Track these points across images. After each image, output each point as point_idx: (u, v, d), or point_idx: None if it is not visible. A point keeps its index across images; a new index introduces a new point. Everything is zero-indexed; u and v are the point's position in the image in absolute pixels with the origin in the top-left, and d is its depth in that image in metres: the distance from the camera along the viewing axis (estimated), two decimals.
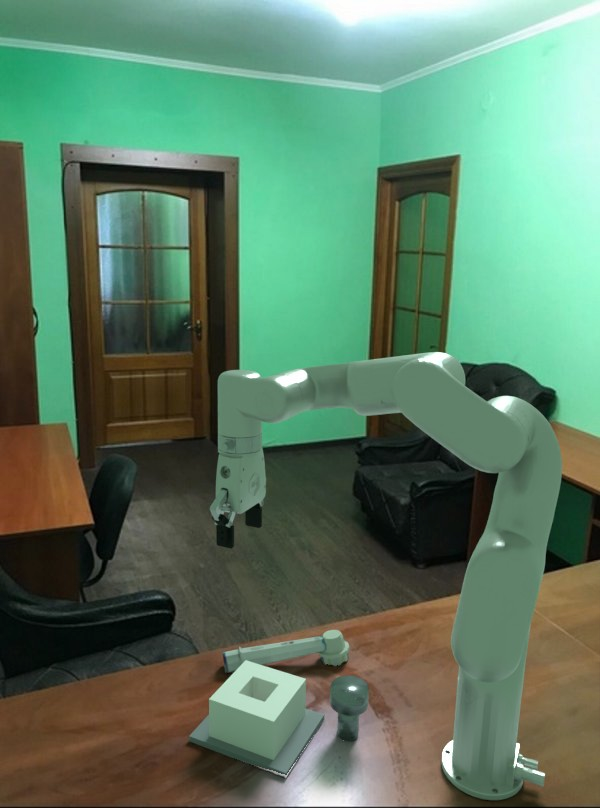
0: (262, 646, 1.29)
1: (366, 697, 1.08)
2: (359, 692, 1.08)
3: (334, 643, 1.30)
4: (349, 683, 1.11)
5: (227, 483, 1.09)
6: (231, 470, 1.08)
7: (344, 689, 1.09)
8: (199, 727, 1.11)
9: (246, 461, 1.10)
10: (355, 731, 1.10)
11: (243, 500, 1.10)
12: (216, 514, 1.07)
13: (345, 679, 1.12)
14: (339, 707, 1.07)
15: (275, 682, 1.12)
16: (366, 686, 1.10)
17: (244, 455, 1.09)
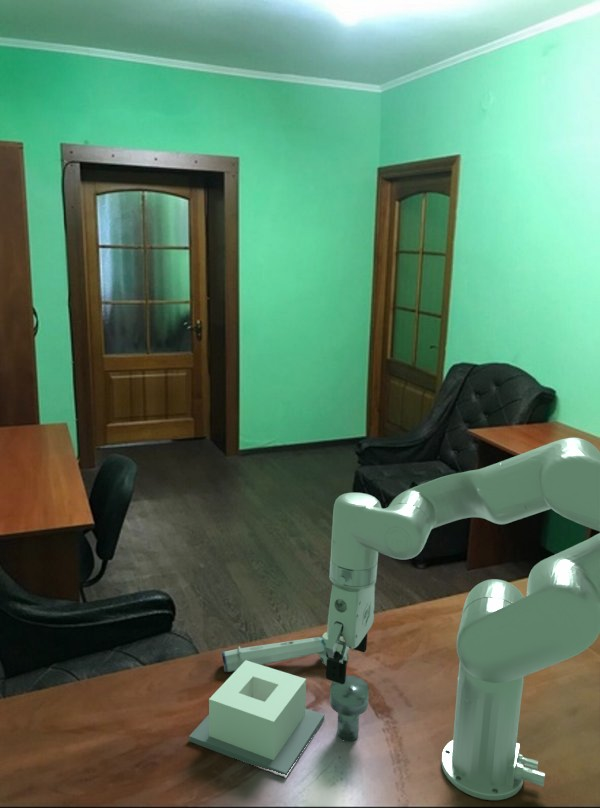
0: (261, 646, 1.29)
1: (366, 697, 1.08)
2: (359, 692, 1.08)
3: None
4: (349, 683, 1.11)
5: (342, 617, 1.02)
6: (347, 604, 1.01)
7: (344, 689, 1.09)
8: (199, 727, 1.11)
9: (362, 593, 1.02)
10: (355, 731, 1.10)
11: (357, 634, 1.03)
12: (332, 653, 1.00)
13: None
14: (339, 707, 1.07)
15: (275, 682, 1.12)
16: (366, 686, 1.10)
17: (361, 588, 1.02)
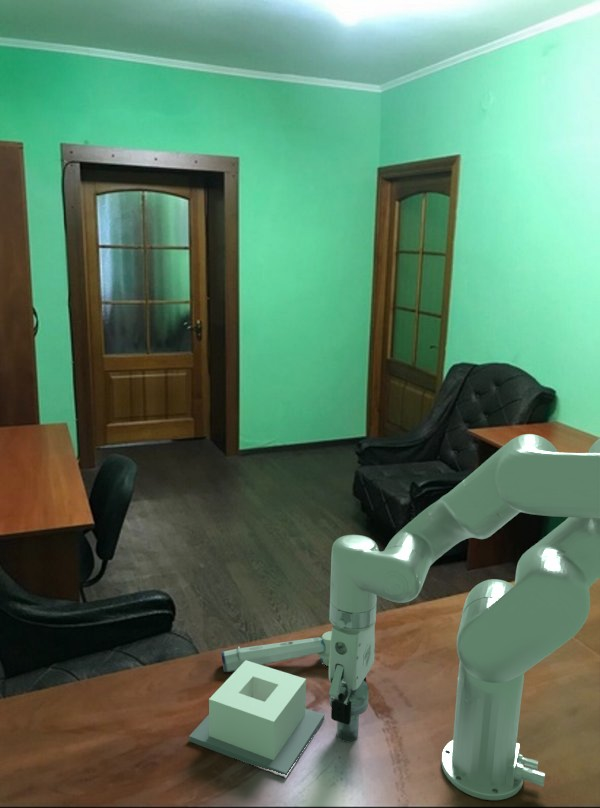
0: (261, 646, 1.29)
1: (366, 697, 1.08)
2: (359, 692, 1.08)
3: None
4: None
5: (343, 659, 1.03)
6: (348, 647, 1.03)
7: (344, 688, 1.09)
8: (199, 727, 1.11)
9: (362, 635, 1.04)
10: (355, 731, 1.10)
11: (358, 676, 1.04)
12: (336, 698, 1.03)
13: None
14: None
15: (275, 682, 1.12)
16: (366, 686, 1.10)
17: (360, 630, 1.03)
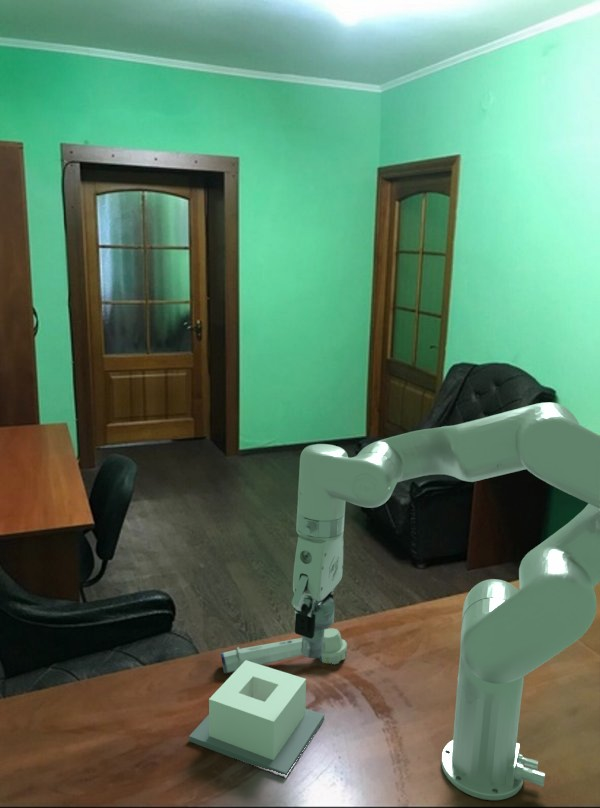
0: (260, 646, 1.29)
1: (331, 612, 1.05)
2: (324, 607, 1.05)
3: (332, 642, 1.30)
4: None
5: (307, 569, 1.00)
6: (313, 556, 1.00)
7: (309, 603, 1.06)
8: (199, 727, 1.11)
9: (328, 545, 1.01)
10: (319, 648, 1.07)
11: (323, 587, 1.01)
12: (299, 608, 1.00)
13: None
14: None
15: (275, 682, 1.12)
16: (332, 602, 1.07)
17: (327, 539, 1.00)
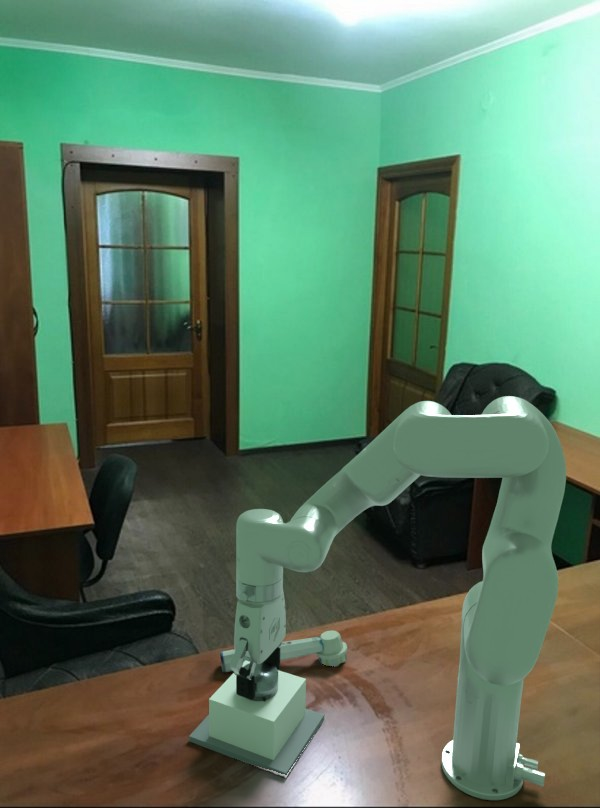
0: None
1: (274, 682, 1.08)
2: (267, 677, 1.08)
3: (332, 644, 1.29)
4: (259, 668, 1.11)
5: (246, 633, 1.03)
6: (251, 620, 1.02)
7: (253, 674, 1.09)
8: (199, 727, 1.11)
9: (266, 609, 1.04)
10: None
11: (263, 649, 1.04)
12: (236, 670, 1.01)
13: (256, 665, 1.12)
14: None
15: None
16: (276, 672, 1.10)
17: (264, 603, 1.03)
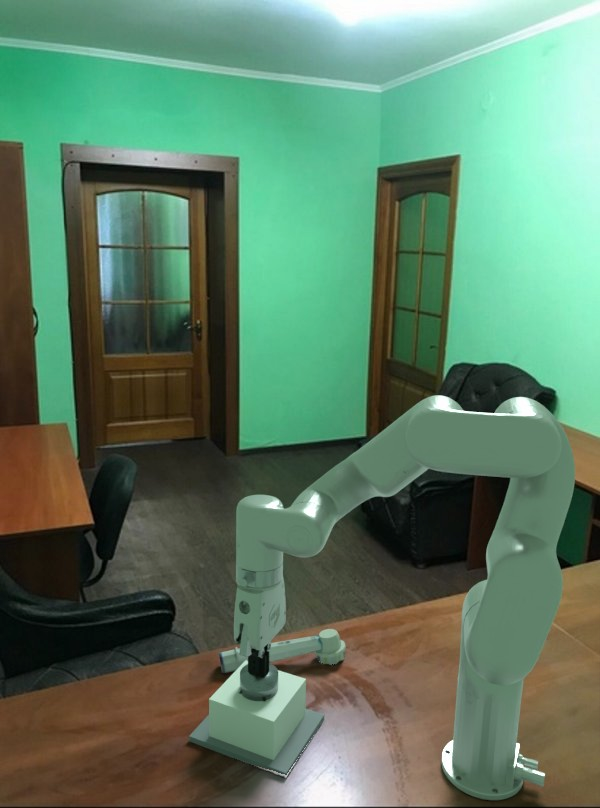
0: None
1: (274, 682, 1.08)
2: (267, 677, 1.08)
3: (331, 642, 1.30)
4: None
5: (246, 619, 1.02)
6: (251, 606, 1.02)
7: None
8: (199, 727, 1.11)
9: (266, 595, 1.03)
10: None
11: (263, 636, 1.03)
12: None
13: None
14: (247, 692, 1.07)
15: None
16: (276, 672, 1.10)
17: (264, 589, 1.02)
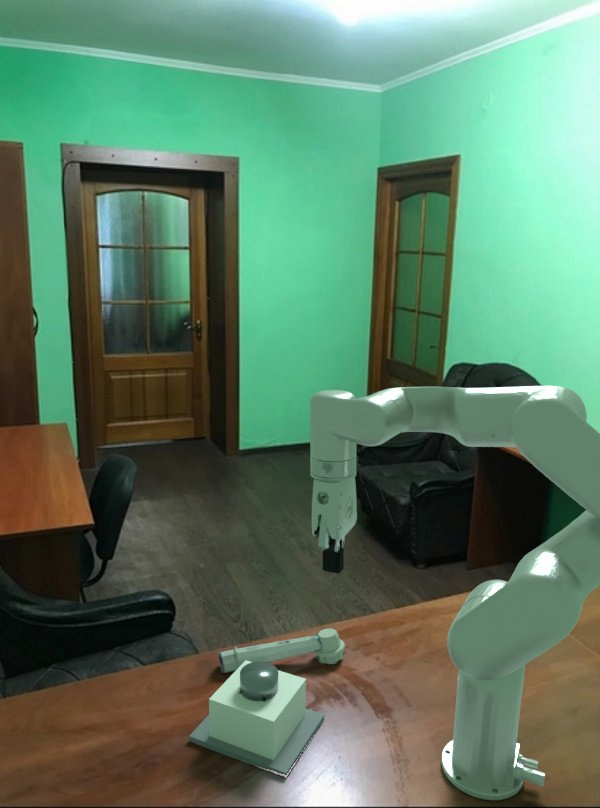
0: (258, 646, 1.29)
1: (274, 682, 1.08)
2: (267, 677, 1.08)
3: (330, 642, 1.30)
4: (259, 668, 1.11)
5: (325, 509, 1.04)
6: (329, 496, 1.03)
7: (253, 674, 1.09)
8: (199, 727, 1.11)
9: (343, 485, 1.05)
10: None
11: (341, 526, 1.05)
12: (326, 547, 1.06)
13: (256, 665, 1.12)
14: (247, 692, 1.07)
15: None
16: (276, 672, 1.10)
17: (342, 479, 1.04)
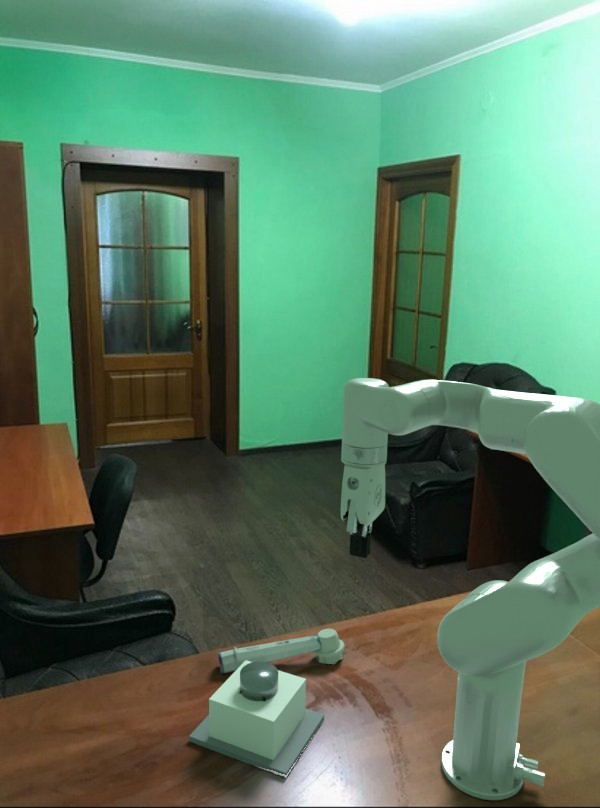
0: (257, 646, 1.29)
1: (274, 682, 1.08)
2: (267, 677, 1.08)
3: (330, 642, 1.30)
4: (259, 668, 1.11)
5: (355, 494, 1.06)
6: (360, 481, 1.05)
7: (253, 674, 1.09)
8: (199, 727, 1.11)
9: (373, 472, 1.07)
10: None
11: (370, 512, 1.07)
12: None
13: (256, 665, 1.12)
14: (247, 692, 1.07)
15: None
16: (276, 672, 1.10)
17: (372, 466, 1.06)
